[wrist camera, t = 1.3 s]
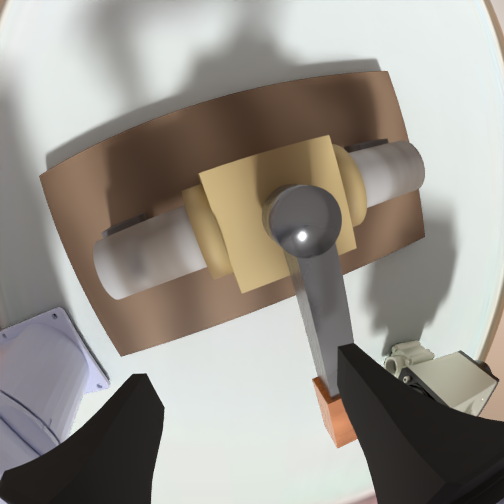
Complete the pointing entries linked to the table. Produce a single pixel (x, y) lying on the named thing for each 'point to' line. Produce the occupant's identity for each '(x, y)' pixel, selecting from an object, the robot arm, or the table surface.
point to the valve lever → (316, 286)
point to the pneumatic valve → (443, 376)
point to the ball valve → (230, 201)
